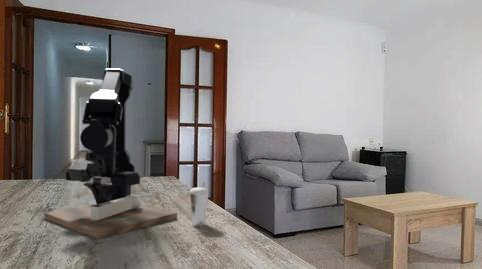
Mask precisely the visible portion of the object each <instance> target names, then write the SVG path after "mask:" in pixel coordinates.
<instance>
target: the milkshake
mask: <svg viewBox="0 0 482 269" xmlns="http://www.w3.org/2000/svg"><path fill="white" fill-rule="evenodd" d="M205 185H206V182H205V181H203V184H202V187H201V186H200V187H193V188H192V189H189V200H190V218H191V225H192V226H193V227H202V226H203V227H204V226H205V225H206V222H207V221H206V218H207V210H208V209H207V206H208V197H209V190H208V188H206V187H205Z"/></svg>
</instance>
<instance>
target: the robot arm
mask: <svg viewBox="0 0 482 269" xmlns="http://www.w3.org/2000/svg"><path fill="white" fill-rule="evenodd" d="M133 90H134V79H133V76H132V75H131V74H128V73H127V72H125V70H124V69H122V68H112V67H111V68H109V67H108V68H105V69H104V73H103V74H102V82H101V86H100V87H99V90H98V91H96V92H94V93H92V94H91V95H90V96H89V98H88V101H86V103H85V107H84V113H83V118H82V121H81V122H82V125H88V126H86V127H84V128H83V129H82V131H81V134H80V142H81V145H82V146H83V147H84V148H85V149H86V150H89V151H88V152H87V151H86V154H85V158H84V159H83V160H81V161H78V162H76V163H74V164H72V165H70V166H69V167H67V168H68V169H67V171H66V172H65V181H71V182H81V183H83V184H82V185H83V186H85V187H87V188H88V189H90V191H91V192H92V195H93V198H94V201H95V204H97V205H98V204H102V203H105V202H109V201H113V200H116V199H120V198H124V197H126V196H128V195H132V194H131V190H132V188H131V186H135V185H139V184H141V176H140V174H139V172H138V171H137V172H136V167H135V166H134V162H132V156H131V154H130V153H129V151H128V150H127V136H126V135H127V103H128V101H129V100H130V99H131V96H132V91H133Z"/></svg>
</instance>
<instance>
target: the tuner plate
mask: <svg viewBox="0 0 482 269" xmlns="http://www.w3.org/2000/svg"><path fill="white" fill-rule="evenodd" d="M91 205H97V203H94V204H87V205H84V206H76V207H70V208H64V209H59V210H53V211H48V212H44V214H43V215H44V218H43V219H44V220H46V221H49V222H51V223H54V224H57V225H60V226H61V227H65V228H66V229H70V230H73V231H75V232H77V233H80V234H84V235H86V236H88V237H91V238H94V239H96V240H100V239H103V238H107V237H111V236H116V235H119V234H123V233H127V232H130V231H134V230H138V229H142V228H146V227H149V226H153V225H158V224H163V223H166V222H169V221H173V220H177V219H178V212H175V211H171V210H166V209H163V208H158V207H154V206H150V205H145V204H141V203H140V207H139V208H135V209H130V210H127V211H124V212H121V213H118V214H115V215H112V216H109V217H106V218H103V219H100V220H92V219H91Z"/></svg>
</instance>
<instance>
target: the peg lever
mask: <svg viewBox="0 0 482 269" xmlns="http://www.w3.org/2000/svg"><path fill="white" fill-rule="evenodd" d="M140 204H141V196H140V194H131V195H128V196H126V197H124V198H120V199H116V200H113V201H111V200H109V201H108V202H105V203H102V204H98V205H93V204H90V205H91V219H92V220H100V219H103V218H106V217H109V216H112V215H115V214H118V213H121V212H124V211H127V210H130V209H135V208H139V207H140Z"/></svg>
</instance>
